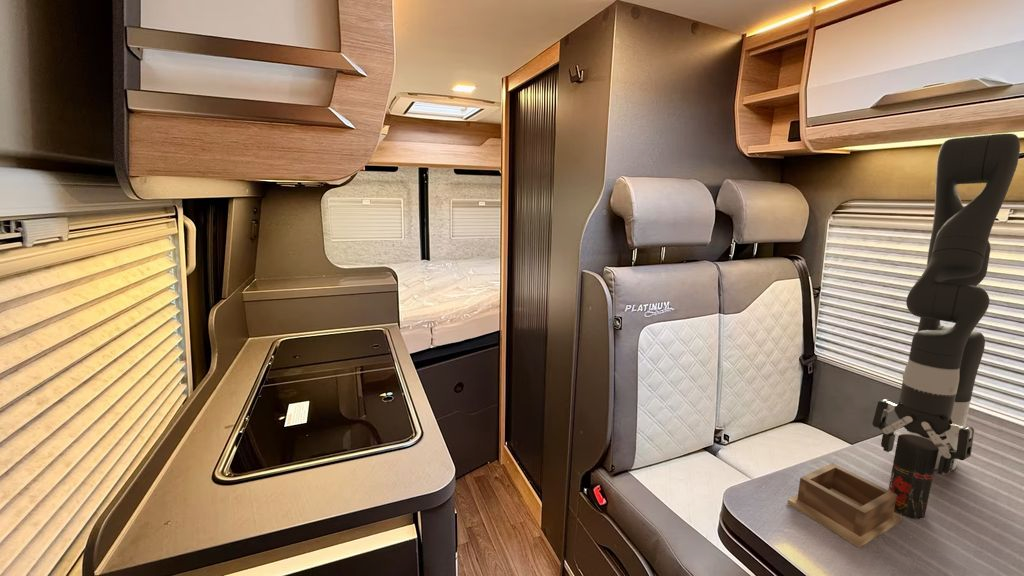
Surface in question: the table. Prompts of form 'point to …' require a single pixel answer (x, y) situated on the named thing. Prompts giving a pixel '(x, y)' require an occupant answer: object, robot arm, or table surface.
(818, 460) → the table surface
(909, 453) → the deodorant
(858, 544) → the holder
